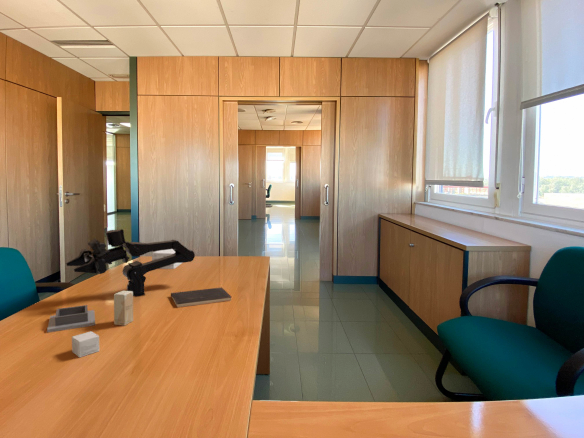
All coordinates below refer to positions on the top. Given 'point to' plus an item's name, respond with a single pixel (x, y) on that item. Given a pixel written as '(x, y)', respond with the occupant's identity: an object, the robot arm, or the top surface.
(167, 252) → the supplement box
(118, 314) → the box
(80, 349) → the small box
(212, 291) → the hardcover book
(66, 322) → the holder
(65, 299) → the top surface
